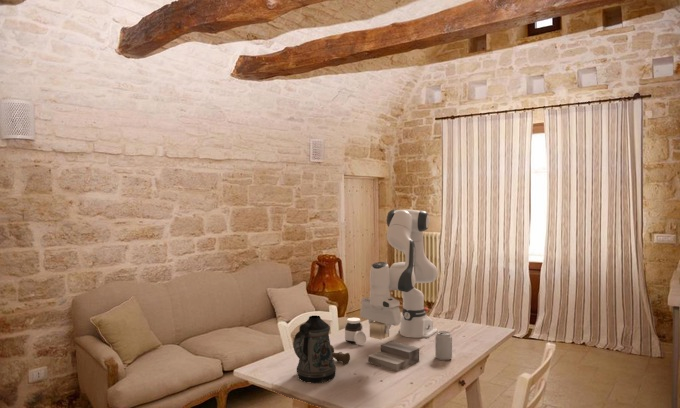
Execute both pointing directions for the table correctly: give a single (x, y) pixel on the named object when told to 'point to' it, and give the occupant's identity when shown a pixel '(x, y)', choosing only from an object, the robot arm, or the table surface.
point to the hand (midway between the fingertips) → (379, 331)
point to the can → (443, 345)
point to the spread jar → (354, 332)
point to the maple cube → (378, 330)
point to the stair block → (395, 356)
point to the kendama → (340, 356)
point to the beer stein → (314, 351)
